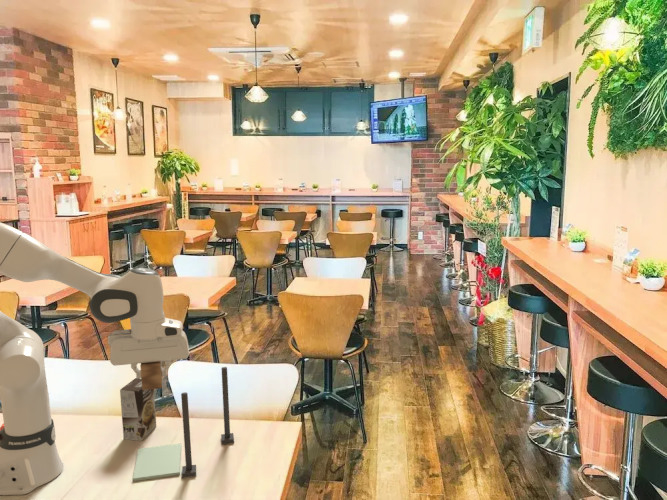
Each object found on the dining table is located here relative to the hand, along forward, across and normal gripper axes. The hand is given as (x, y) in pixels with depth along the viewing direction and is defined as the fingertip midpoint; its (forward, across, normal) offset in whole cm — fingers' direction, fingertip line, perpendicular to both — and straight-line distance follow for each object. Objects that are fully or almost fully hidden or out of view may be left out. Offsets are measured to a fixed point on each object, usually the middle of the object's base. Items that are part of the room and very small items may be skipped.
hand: (152, 376), depth 152 cm
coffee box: (+26, -6, +18) cm, 33 cm away
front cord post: (+26, +8, -7) cm, 28 cm away
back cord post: (+26, +20, +7) cm, 33 cm away
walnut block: (+3, 0, 0) cm, 3 cm away
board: (+26, 0, 0) cm, 26 cm away
